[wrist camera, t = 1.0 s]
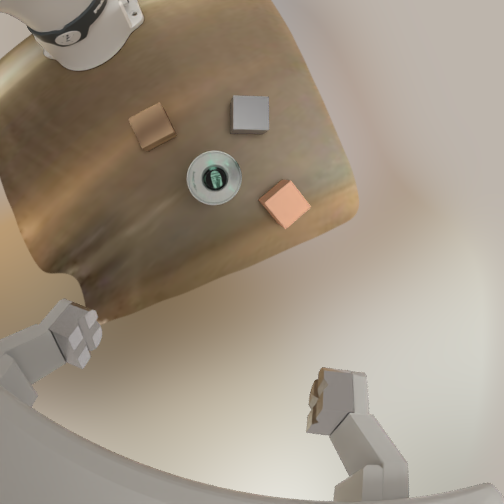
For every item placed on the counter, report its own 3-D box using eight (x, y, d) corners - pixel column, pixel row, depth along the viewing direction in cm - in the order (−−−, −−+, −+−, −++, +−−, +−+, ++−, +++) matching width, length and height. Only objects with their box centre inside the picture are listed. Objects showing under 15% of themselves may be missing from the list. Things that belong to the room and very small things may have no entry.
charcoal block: (230, 103, 43) (233, 95, 38) (262, 104, 44) (268, 96, 39) (230, 133, 44) (233, 129, 39) (262, 134, 45) (268, 130, 40)
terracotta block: (258, 199, 47) (264, 203, 43) (282, 179, 47) (290, 180, 42) (277, 223, 49) (285, 229, 44) (300, 203, 49) (311, 207, 44)
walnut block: (135, 124, 41) (128, 118, 37) (164, 108, 41) (159, 101, 37) (148, 151, 43) (142, 148, 38) (177, 136, 43) (174, 131, 38)
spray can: (210, 151, 44) (215, 135, 25) (235, 175, 46) (258, 178, 27) (185, 176, 45) (171, 179, 26) (210, 200, 46) (215, 221, 27)
